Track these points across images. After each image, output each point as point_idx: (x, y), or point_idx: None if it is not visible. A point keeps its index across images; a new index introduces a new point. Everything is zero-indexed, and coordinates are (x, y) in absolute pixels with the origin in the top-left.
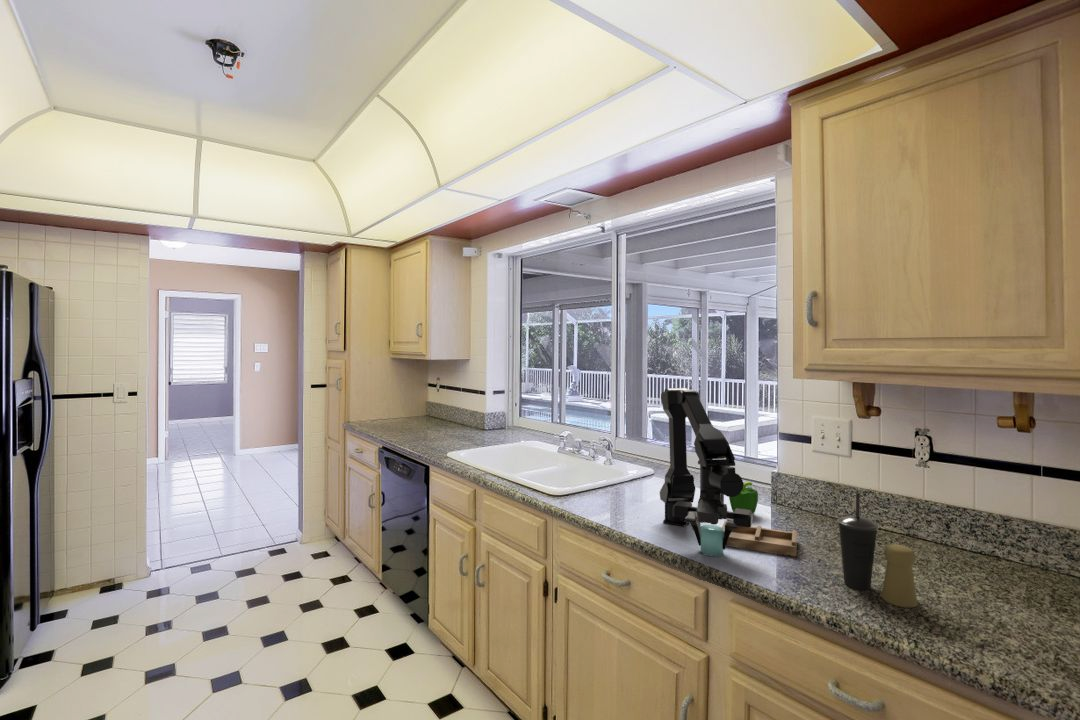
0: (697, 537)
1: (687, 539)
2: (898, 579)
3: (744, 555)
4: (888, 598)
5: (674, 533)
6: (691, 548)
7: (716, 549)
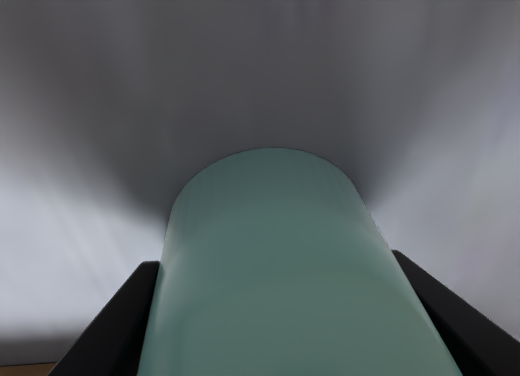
0: (460, 312)
1: None
2: None
3: (5, 277)
4: None
5: None
6: (432, 229)
7: (209, 208)
